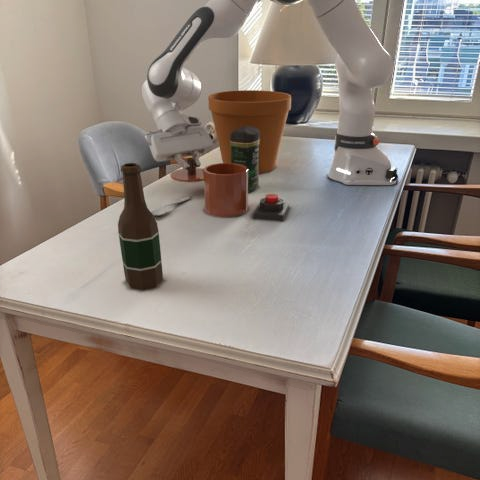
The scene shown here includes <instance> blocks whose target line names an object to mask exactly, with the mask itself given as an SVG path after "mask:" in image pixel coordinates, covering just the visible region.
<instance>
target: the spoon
mask: <svg viewBox="0 0 480 480" xmlns="http://www.w3.org/2000/svg"><path fill="white" fill-rule="evenodd" d="M190 199H191V197H190V196H183V197H181V198H180V199H177V200H175V201H173V202H170V203H168V204H164V205H161V206H159V207H157V208H155V209H153V210H152V211H150V212H151V213H152V214H153V215H154V217H160V216H163V215H165V214H166V213H167V210H166V208H167V207H169V206H172V205H176V204H180V203H184V202H186V201H189V200H190Z"/></svg>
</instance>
